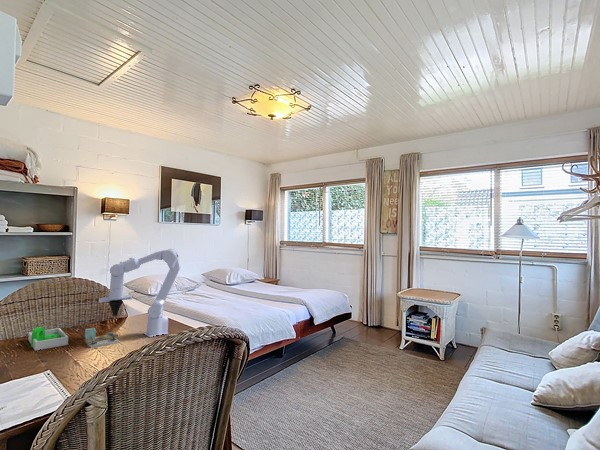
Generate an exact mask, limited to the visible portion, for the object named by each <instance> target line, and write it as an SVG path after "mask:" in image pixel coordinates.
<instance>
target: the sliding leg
mask: <svg viewBox="0 0 600 450" xmlns="http://www.w3.org/2000/svg"><path fill="white" fill-rule="evenodd" d="M96 332H97V329H96V328H95V327H90V328H85V331H84V339H92V343H94V338H95V337H97V335H96V334H97V333H96Z"/></svg>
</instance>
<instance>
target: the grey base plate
mask: <svg viewBox="0 0 600 450" xmlns="http://www.w3.org/2000/svg"><path fill="white" fill-rule="evenodd" d="M118 336H119V334H118V333H114V332H112V331H107V334H105V335H99V336H96V337H95V338H94V342H95V341H100V340H106V339H112V338H113V339H115V338H116V339H118V338H119V337H118ZM118 340H119V339H118ZM89 342H92V339H86V338H84V343H85V344H86V345H87V343H89Z"/></svg>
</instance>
